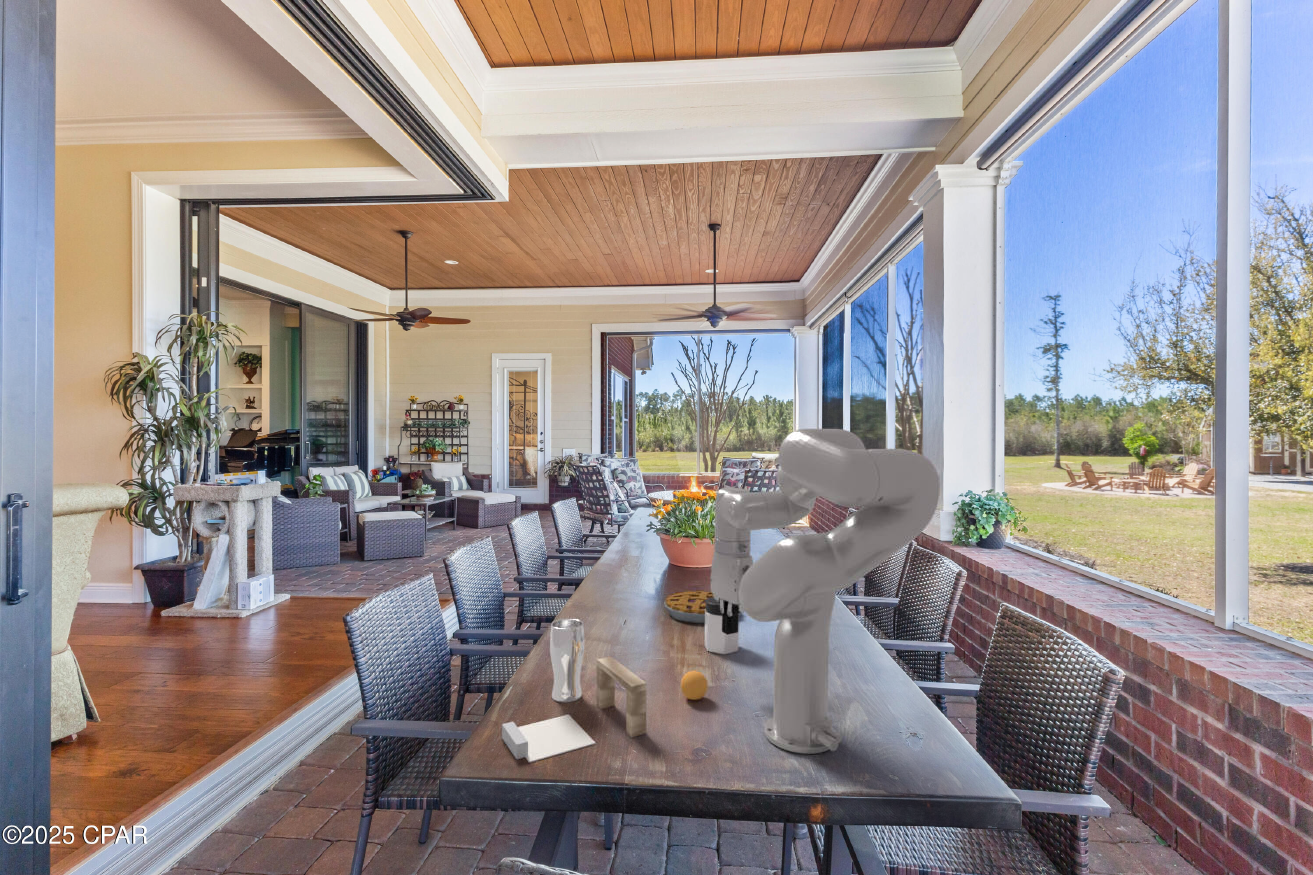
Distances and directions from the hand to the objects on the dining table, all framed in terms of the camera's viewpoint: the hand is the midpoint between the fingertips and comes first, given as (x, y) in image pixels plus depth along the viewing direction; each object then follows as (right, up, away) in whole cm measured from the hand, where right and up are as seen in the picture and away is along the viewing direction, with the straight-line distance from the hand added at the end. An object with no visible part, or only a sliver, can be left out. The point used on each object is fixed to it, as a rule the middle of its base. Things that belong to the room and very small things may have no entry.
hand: (730, 632), depth 130 cm
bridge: (-23, -12, -14) cm, 29 cm away
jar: (+1, -12, +23) cm, 26 cm away
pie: (-3, -11, +52) cm, 53 cm away
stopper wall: (-40, -12, -24) cm, 49 cm away
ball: (-8, -9, -5) cm, 13 cm away
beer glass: (-34, -12, -5) cm, 36 cm away
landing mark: (-35, -12, -21) cm, 42 cm away
